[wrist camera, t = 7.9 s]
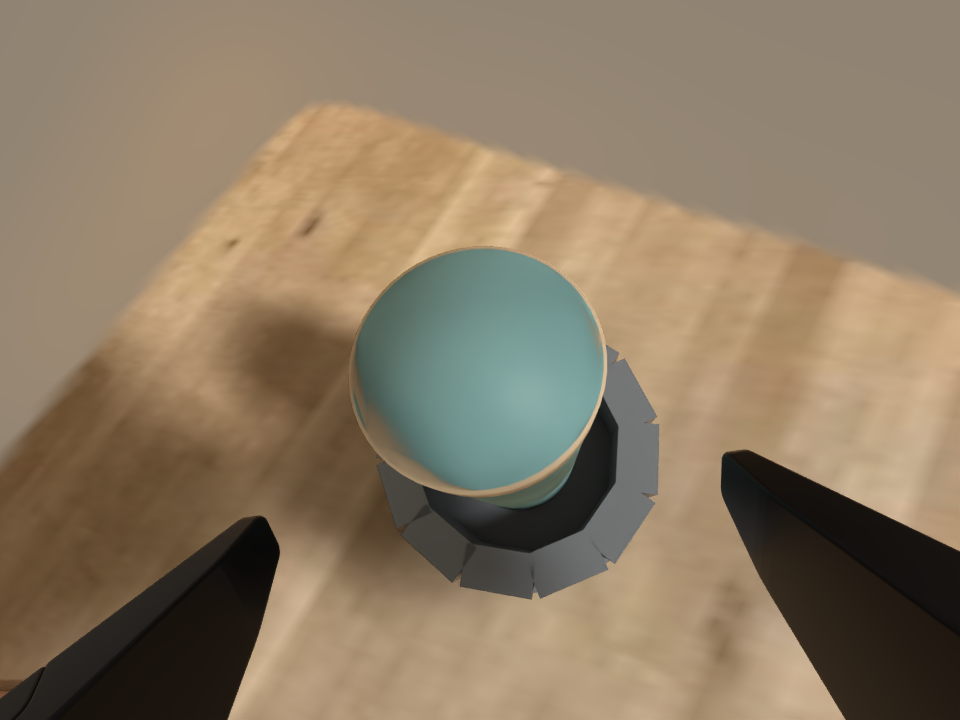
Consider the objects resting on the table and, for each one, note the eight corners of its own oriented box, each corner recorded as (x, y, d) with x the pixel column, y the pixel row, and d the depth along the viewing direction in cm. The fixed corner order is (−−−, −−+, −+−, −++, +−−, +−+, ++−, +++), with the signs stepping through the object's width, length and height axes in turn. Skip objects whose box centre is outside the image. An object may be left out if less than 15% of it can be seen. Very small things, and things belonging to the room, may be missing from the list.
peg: (570, 520, 16) (598, 514, 6) (452, 502, 16) (320, 474, 7) (579, 402, 17) (614, 251, 8) (469, 391, 18) (377, 241, 8)
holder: (644, 614, 15) (662, 631, 13) (376, 565, 17) (346, 573, 14) (652, 347, 18) (667, 319, 15) (422, 329, 19) (403, 301, 17)
